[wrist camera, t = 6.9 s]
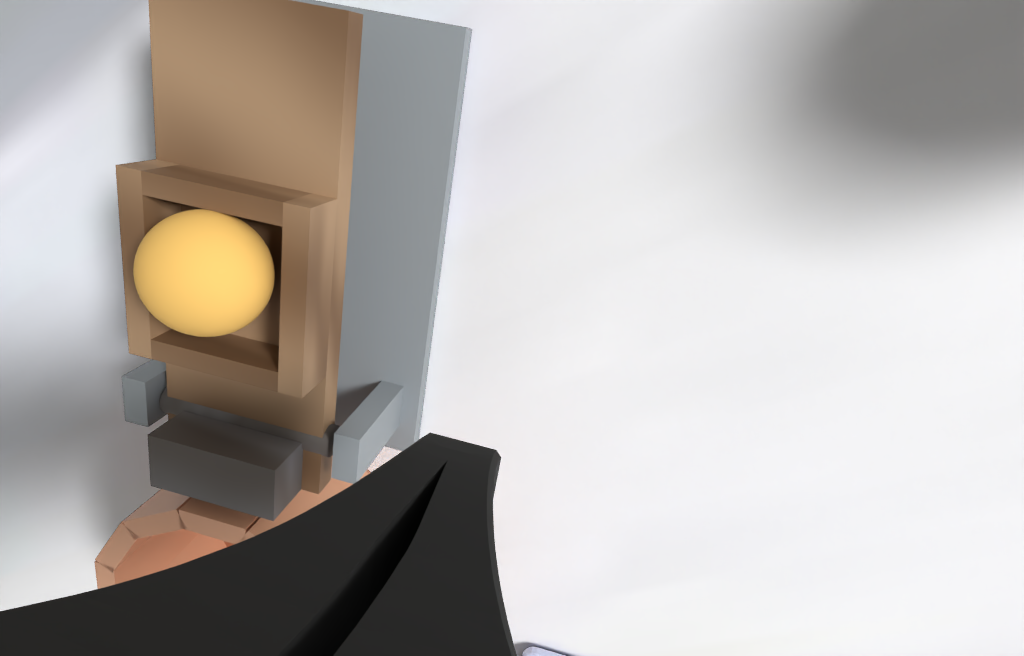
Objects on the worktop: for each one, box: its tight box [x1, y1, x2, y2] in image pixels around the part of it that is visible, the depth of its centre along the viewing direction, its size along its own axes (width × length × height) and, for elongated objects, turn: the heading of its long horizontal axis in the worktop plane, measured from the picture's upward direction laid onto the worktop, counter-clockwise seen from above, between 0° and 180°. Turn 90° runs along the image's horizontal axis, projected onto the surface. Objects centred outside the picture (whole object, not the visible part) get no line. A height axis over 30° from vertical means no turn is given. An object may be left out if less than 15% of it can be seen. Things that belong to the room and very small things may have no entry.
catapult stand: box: [122, 0, 472, 484], centre depth 19 cm, size 14×9×4 cm, turn 170°
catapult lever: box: [116, 0, 363, 521], centre depth 17 cm, size 14×6×2 cm, turn 170°
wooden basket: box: [95, 455, 371, 589], centre depth 23 cm, size 9×9×6 cm
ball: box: [133, 209, 275, 337], centre depth 16 cm, size 3×3×3 cm
